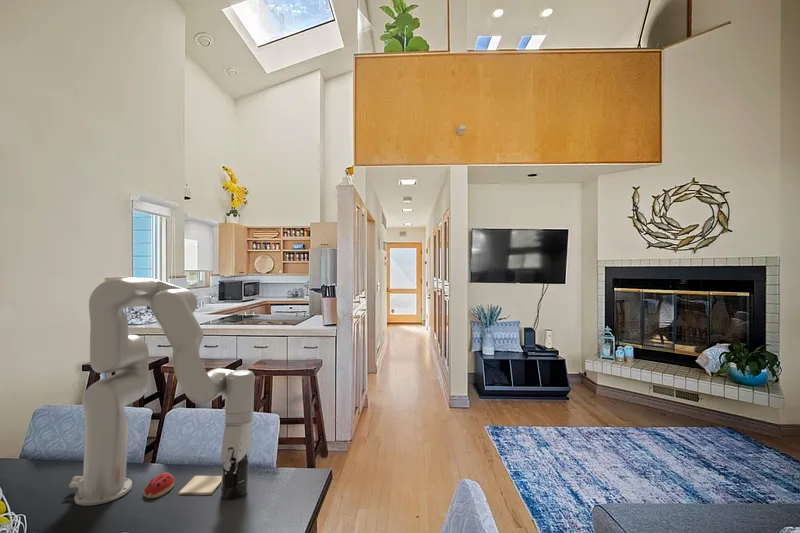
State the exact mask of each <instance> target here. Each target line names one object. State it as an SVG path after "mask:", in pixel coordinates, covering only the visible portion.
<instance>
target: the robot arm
mask: <svg viewBox="0 0 800 533" xmlns="http://www.w3.org/2000/svg"><path fill="white" fill-rule="evenodd" d="M136 307H150V309H151V312H152V313H153V316H154V317H155V319H156V321H157V323H158V325H159V326H160V328H161V330H162V331H163V333H164V336H165V337H166V338H167V341H168V342H169V345H170V346H171V348H172V365H173V372H174V376H175V378H176V381H177V382H178V384H179V386H180V387H181V389H182V391H183V393H184V394H185V396H186V397H187V399H189V400H190V401H191V403H194V404H197V405H205V404H208V403H210V402H212V401H214V400H215V399H216V398H218V397H220V396H222V395H225V396H224V397H225V398H224V420H223V421H224V424H225V425H224V430H223V436H222V445H221V455H220V456H221V459H220V460H221V463H224V462H225V463H224V469H225V488H237V487H238V472H237V468H238V462H239V461H240V460H241V459H242V458H243V457H244V456H245V455H246V456H245V457H246V458H247V459H248V460H249V457H250V455H249V454H250V453H249V450H250V449H251V444H252V423H253V421H254V411H255V410H254V408H255V407H254V405H255V404H254V403H255V402H254V400H255V378H256V377H255V373H254V372H253V371H252V370H249V369H239V370H233V369H227V368H222V367H221V368H220V367H217V368H212V369H211V370H209V371H207V370H206V368H205V367H204V365H203V362H202V360H201V356H200V347H201V345H202V341H203V338H204V330H203V329H202V327H201V326H200V323H199V322H198V320H197V319H196V317H195V315H194V312H195V311H196V310H197V307H198V298H197V296H196V295H195V294H194V292H192V291H191V290H189V289H187V288H185V287H181V286H179V285H178V286H177V285H175V284H172V283H168V282H165V281H162V280H159V279H155V278H153V277H151V278H150V277H138V276H137V277H135V276H133V277H132V276H126V277H124V276H122V277H115V278H110V279H107V280H105V281H103V282H102V283H100V284H98V285H97V286H96V287H95V288H94V289H93V291H92V292H91V294H90V297H89V299H88V314H89V320H90V321H89V322H90V323H89V325H90V330H89V363H90V364H89V365H90V367H91V369H92V370H93V371H94V372H95V373H97V374H110V373H111V374H112V373H115V374H113V375H110V376H107V377H104V378H102V379H99V380H97V381H95V382H94V383H92V384H91V385H89V386H88V387H87V389H86V390H85V391H84V393H83V396H82V399H81V400H82V402H81V403H82V409H83V416H84V426H85V428H84V430H85V431H84V449H83V450H84V451H83V453H84V454H83V470H82V471H83V474H82V475H75V476H73V477H72V478H71V482H70V483H69V485H68V486H69V488H71V489H72V488H76V489H77V492H76V493H75V494H74V502H75V504H76V505H79V506H85V507H86V506H87V507H89V506H91V507H92V506H98V505H101V504H103V505H104V504H106V503H109V502H112V501H114V500H117V499H119V498H121V497H123V496H125V495H126V494H127V493H128V492H130V491H131V489H132V488H133V480H131V479H130V478H129V477H128V478H127V463H128V462H127V460H128V459H127V458H128V441H129V440H128V439H129V438H128V437H129V436H128V435H129V421H128V416H127V415H126V411H125V407H126V406H128V405H131V404H133V403H134V402H135V403H136V401H138V400H140V399H141V398H142V397H143V396H145V394H146V392H147V391H148V387H149V375H150V374H149V373H150V372H149V371H150V370H149V366H150V365H149V364H150V363H149V362H150V361H149V358H150V354H149V347H148V345H147V343H146V341H145V340H144V339H143V338H142V336H139V335H137V334H130V333H129V321H128V317H127V314H126V313H125V311H124V309H126V308H136ZM232 458H236V461H232ZM231 463H235V466H234V467H233V466H231Z"/></svg>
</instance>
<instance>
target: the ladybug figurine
mask: <svg viewBox="0 0 800 533" xmlns="http://www.w3.org/2000/svg"><path fill="white" fill-rule="evenodd" d="M174 485H175V479H174V476H173V475H172V474H171V473H169V472H161V473H160V474H158V475H156V476H155V477H152V479H151V480H150V481H149V482H148V483H147V485H146V486H145V487H144V490H143V496H144V498H147V499H156V498H159V497H162V496H164V495H166V494H167V493H168V492H170V490H172V489H173V487H174Z"/></svg>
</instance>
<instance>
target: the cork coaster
mask: <svg viewBox="0 0 800 533" xmlns="http://www.w3.org/2000/svg"><path fill="white" fill-rule="evenodd" d="M221 482H222V475H194V476H193V477H192V478H191V479H190V480H189V481H188V482H187V484H186V485H184V486H183V487H182V488H181V489H180V490H179V492H178V495H181V496H182V495H183V496H184V495H193V496H194V495H199V496H201V495H203V496H205V495H206V496H209V495H213V494H214V492H215V491H216V490H217V489H218V488H217V487H219V486H220V485H221V484H220V483H221ZM216 488H217V489H216Z"/></svg>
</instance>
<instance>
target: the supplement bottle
mask: <svg viewBox="0 0 800 533" xmlns="http://www.w3.org/2000/svg"><path fill="white" fill-rule="evenodd" d="M245 456H246V455H245ZM245 456H244V457H243V458H242V459H241V460H240V461H239V462H238V468H237V472H238V487H237V488H225V469H224V463H225V462H224V463H223V464H222V468H221V476H222V483H221V484H220V485H221V486H220V496H221V498H222V499H225V500H228V501H231V500H237V499H240V498H242V497H244V496H245V495H246V494H247V492H248V486H249V485H248V484H249V481H248V480H249V463H250V462H249V458H248V459H247V458H246V457H245ZM232 461H236V458H232ZM231 466H233V467H234V466H235V463H231Z"/></svg>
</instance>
